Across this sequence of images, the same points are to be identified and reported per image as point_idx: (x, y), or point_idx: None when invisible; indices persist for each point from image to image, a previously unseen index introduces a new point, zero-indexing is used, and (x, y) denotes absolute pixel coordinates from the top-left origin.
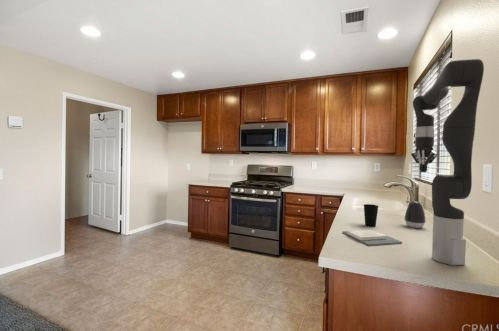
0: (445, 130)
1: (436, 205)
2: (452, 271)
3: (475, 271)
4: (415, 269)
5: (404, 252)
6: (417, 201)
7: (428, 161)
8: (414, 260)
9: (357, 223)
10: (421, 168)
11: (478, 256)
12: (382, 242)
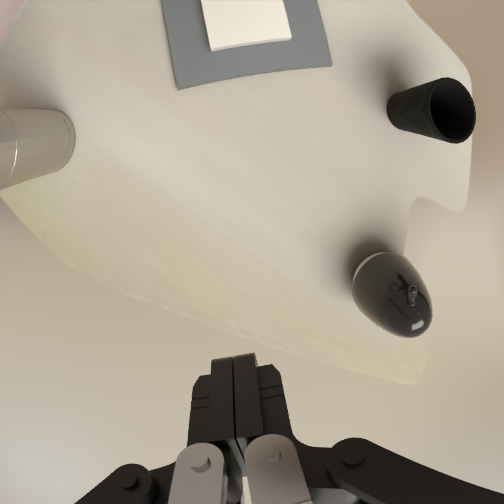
0: None
1: None
2: None
3: None
4: (16, 42)
5: (101, 57)
6: (415, 333)
7: (97, 487)
8: (52, 59)
9: None
10: (233, 386)
11: (86, 252)
12: (172, 20)
